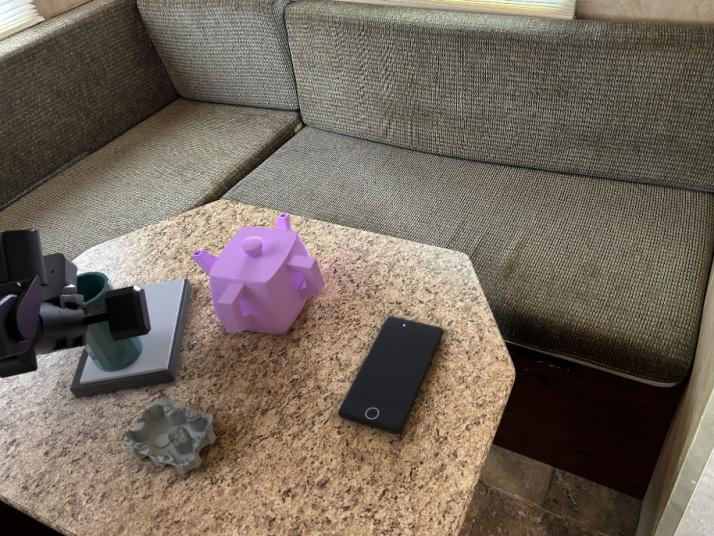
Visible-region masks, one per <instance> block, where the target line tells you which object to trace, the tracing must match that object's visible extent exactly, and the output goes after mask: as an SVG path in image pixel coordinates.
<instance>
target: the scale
mask: <svg viewBox="0 0 714 536" xmlns="http://www.w3.org/2000/svg"><path fill="white" fill-rule="evenodd" d="M139 286H140V287H141V288H143V289H144V290H145V296H146V302H147V307H148V313H149V319H150V324H151V330H150V332H149V333H148V335H143V336H140V337H141V340H142V342H143V350H142V352H141V354H140V356H139V357H138V358H137V359H136V360H135V361H134V362H133V363H132V364H131V365H129V366H127V367H126V368H124V369H121V370H118V371H114V372H105V371H102V370H100V369H98V368H97V367H96V365H95V364H94V362H93V361H92V359H91V358H90V356H89V355H88V353H87V352H86V350H85V348H84V347H83V349H82V351H81V355H80V357H79V361H78V364H77V366H76V370H75V372H74V375H73V378H72V382H71V384H70V387H69V391H70V393H72V395H73V396H74V398H83V397H89V396H94V395H95V396H96V395H100V394H106V393H107V394H108V393H111V392H118V391H123V390H129V389H130V390H131V389H136V388H142V387H147V386H154V385H160V384H165V383H170V382H171V383H172V382H175V381H176V377H177V373H178V372H177V371H178V366H179V360H180V354H181V350H182V345H183V344H182V343H183V337H184V333H185V326H186V321H187V315H188V309H189V305H190V298H191V293H192V284H191V282H190V280H189V278H177V279H172V280H165V281H159V282H154V283H146V284H140V285H139Z"/></svg>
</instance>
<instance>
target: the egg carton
mask: <svg viewBox="0 0 714 536" xmlns="http://www.w3.org/2000/svg"><path fill="white" fill-rule="evenodd" d="M213 419H214V415H213V414H211V413H207V412H201V411H200V410H198V409H194V408H193V407H191V406H186V405H183V404H181V403H177V402H173V401H171V400H169V399H167V398H158V399H156V400H153V401H151V402H150V403H149V404H148V406H146V407H144V411H143V412H142V414H141V415H140V416H138V417H137V418H136V423H135V425H134V426H133V428H132V429H130V428H127V429H125V430H124V432H123V433H122V435H121V436H117V437H116V441H117V442H118V441H119V442H120V443H124V444H126V445H128V452H129V453H128V454H130V455H131V456H132V457H133V458H134V459H136V461H142V460H144V459H145V458H146V457H148V458H150V460H152V462H153V464H154V465H155V466H157V467H159V466H160V467H163V468H164V467H166V465H171V466H174V467H175V468H176V471H177V472H178V473H180V474H181V475H185V474H187V473H188V472H189V471H192V470H193V469H194V470H195V469H198V468H199V467H200V465H201V464H202V463H203V460H202V458H201V456H200V452H201V451H202V449H203V448H205V447H206V446H209V445H213V444H214V442H215V441H216V439H217V435H216V434H215V432H214V426H213V424H212V422H213Z"/></svg>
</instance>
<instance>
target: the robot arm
mask: <svg viewBox="0 0 714 536" xmlns="http://www.w3.org/2000/svg"><path fill="white" fill-rule="evenodd" d="M77 275H78V266H77V264H75V262H73V261H72V260H71V259H69V257H67V256H66V255H65V254H64V253H62V252H54V253H50V254H44V252H43V247H42V240H41V234H40V230H39V229H37V228H33V227H32V228H26V229H13V230H11V229H10V230H0V379H6V378H10V377H11V378H12V377H15V376H20V375H25V374H30V373H33V372H37V371H38V369H39V366H38V359H37V356H39V355H41V356H42V355H43V356H44V355H49V354H53V353H57V352H63V351H66V350H67V351H68V350H72V349H76V348H81V347H83V346H86V345H87V342H86V336H85V335H86V334H87V331H88V325H93V324H97V323H102V322H107V321H108V323H109V329H110V334H111V336H112V338H113V339H114V341H120V340H125V339H130V338H134V337H139V336H143V335H148V333H149V332H150V330H151V324H150V319H149V313H148V307H147V302H146V296H145V290H144V289H143V288H141V287H140V285H129V286H124V287H119V288H114V290H110V291H106V294H105V298H104V299H105V303H102V304H97V305H92V306H88V307H83V308H81V306H84V305H85V304H84V298H83V295H77ZM105 309H106V311H107V313H102V314H97V315H93V316H88V317H87V316H86V315H88V314H92V313H93V314H95V311H96V313H98V312H102V311H103V312H105Z"/></svg>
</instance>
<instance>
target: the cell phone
mask: <svg viewBox="0 0 714 536" xmlns="http://www.w3.org/2000/svg"><path fill="white" fill-rule="evenodd" d="M443 335H444V329H443V328H442V327H440V326H436V325H432V324H429V323H424V322H419V321H415V320H410V319H405V318H401V317H396V316H390V315H389V316H388V317H386V319H385V321H384V323H383V324H382V326H381V328H380V330H379V333H378V334H377V336H376V338H375V340H374V341H373V344H372V346H371V347H370V350H369V351H368V353H367V355H366V357H365V359H364V361H363V363H362V364H361V367H360V369H359V370H358V373H357V374H356V376H355V378H354V380H353V382H352V383H351V386H350V388H349V390H348V391H347V393H346V395H345V397H344V399H343V401H342V403H341V404H340V407H339V409H338V411H337V413H338V416H339V418H341V419H343V420H347V421H350V422H354V423H357V424H360V425H362V426H363V425H364V426H367V427H371V428H374V429H378V430H381V431H384V432H387V433H391V434H395V435H401V434H402V432H403V431H404V428H405V425H406V423H407V421H408V418H409V416H410V414H411V412H412V409H413V407H414V404H415V402H416V399H417V397H418V395H419V392H420V390H421V387H422V385H423V383H424V380H425V378H426V376H427V373H428V371H429V369H430V366H431V363H432V362H433V359H434V356H435V355H436V352H437V350H438V347H439V344H440V342H441V341H442V338H443Z"/></svg>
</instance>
